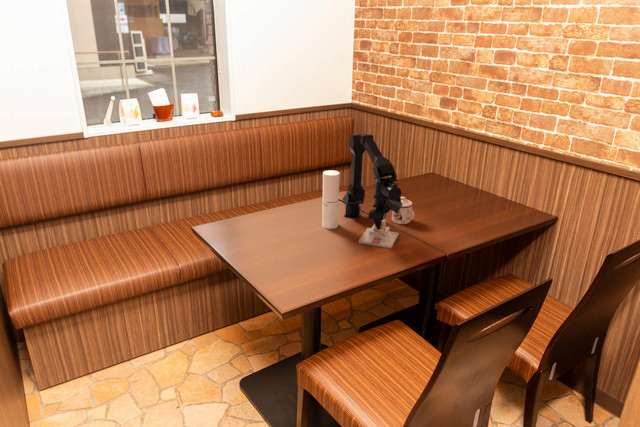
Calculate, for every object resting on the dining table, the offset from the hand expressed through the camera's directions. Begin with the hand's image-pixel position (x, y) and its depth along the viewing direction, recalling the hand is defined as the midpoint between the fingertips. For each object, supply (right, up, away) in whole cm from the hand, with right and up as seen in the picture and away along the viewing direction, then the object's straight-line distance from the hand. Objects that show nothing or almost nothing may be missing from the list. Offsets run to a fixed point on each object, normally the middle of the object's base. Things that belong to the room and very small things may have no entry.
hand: (379, 227), depth 196 cm
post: (0, -4, +2) cm, 4 cm away
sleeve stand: (0, -5, +2) cm, 6 cm away
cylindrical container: (-21, 0, +14) cm, 25 cm away
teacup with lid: (+13, +2, +19) cm, 24 cm away
